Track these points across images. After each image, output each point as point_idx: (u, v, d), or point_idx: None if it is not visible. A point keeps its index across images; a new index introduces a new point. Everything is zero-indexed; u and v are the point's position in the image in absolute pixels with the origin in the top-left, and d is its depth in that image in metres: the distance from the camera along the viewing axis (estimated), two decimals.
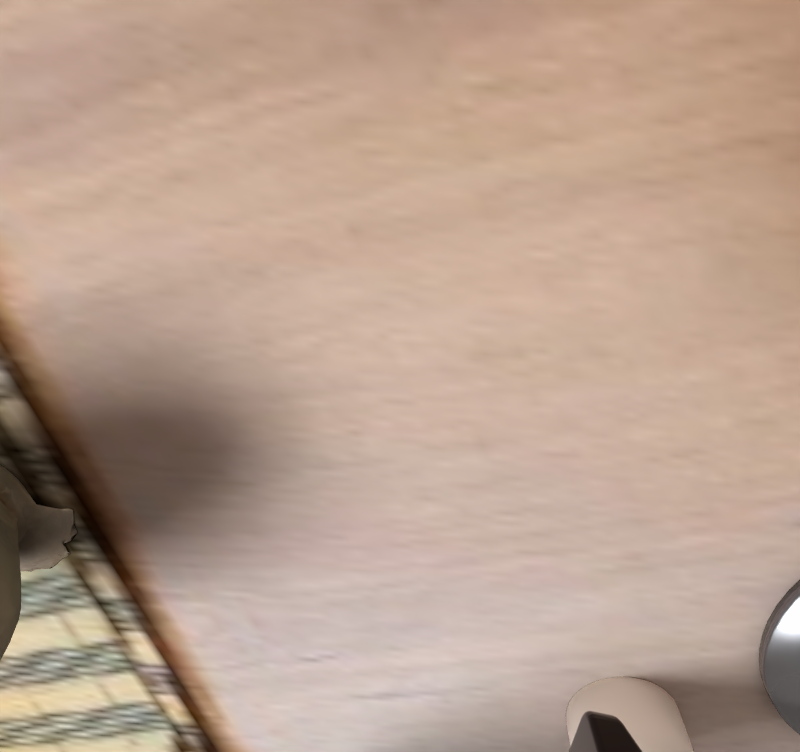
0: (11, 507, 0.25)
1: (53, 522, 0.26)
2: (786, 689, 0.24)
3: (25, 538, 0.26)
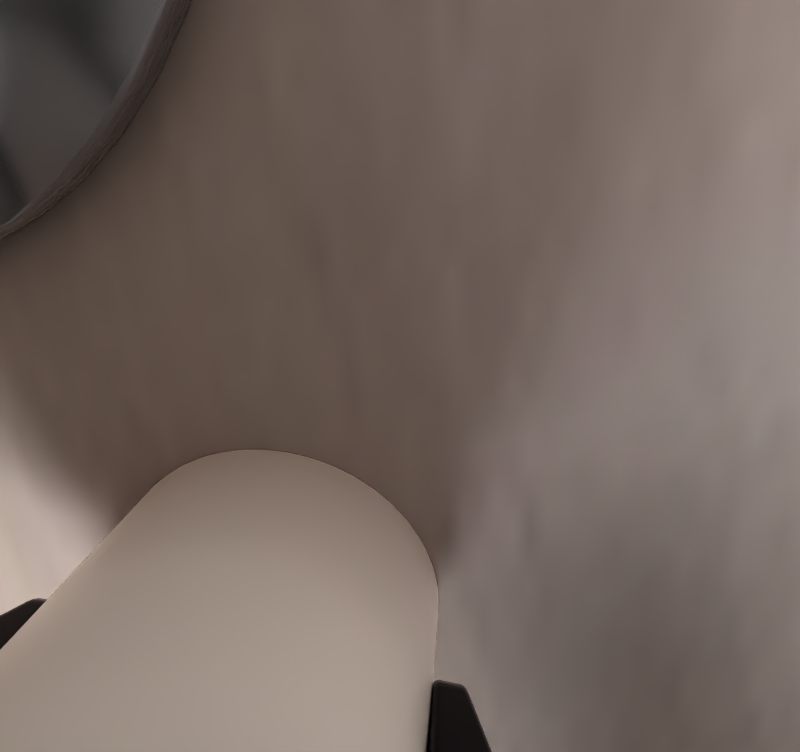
0: None
1: None
2: None
3: None
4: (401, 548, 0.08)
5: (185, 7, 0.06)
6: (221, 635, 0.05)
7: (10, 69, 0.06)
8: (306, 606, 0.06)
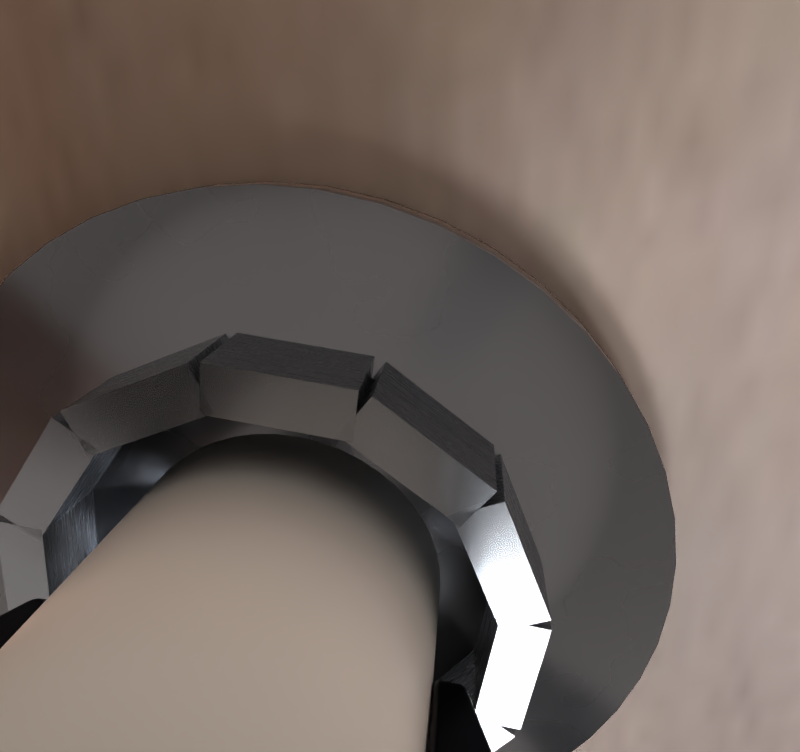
0: None
1: None
2: None
3: None
4: (405, 526, 0.08)
5: None
6: (240, 596, 0.06)
7: None
8: (318, 574, 0.06)
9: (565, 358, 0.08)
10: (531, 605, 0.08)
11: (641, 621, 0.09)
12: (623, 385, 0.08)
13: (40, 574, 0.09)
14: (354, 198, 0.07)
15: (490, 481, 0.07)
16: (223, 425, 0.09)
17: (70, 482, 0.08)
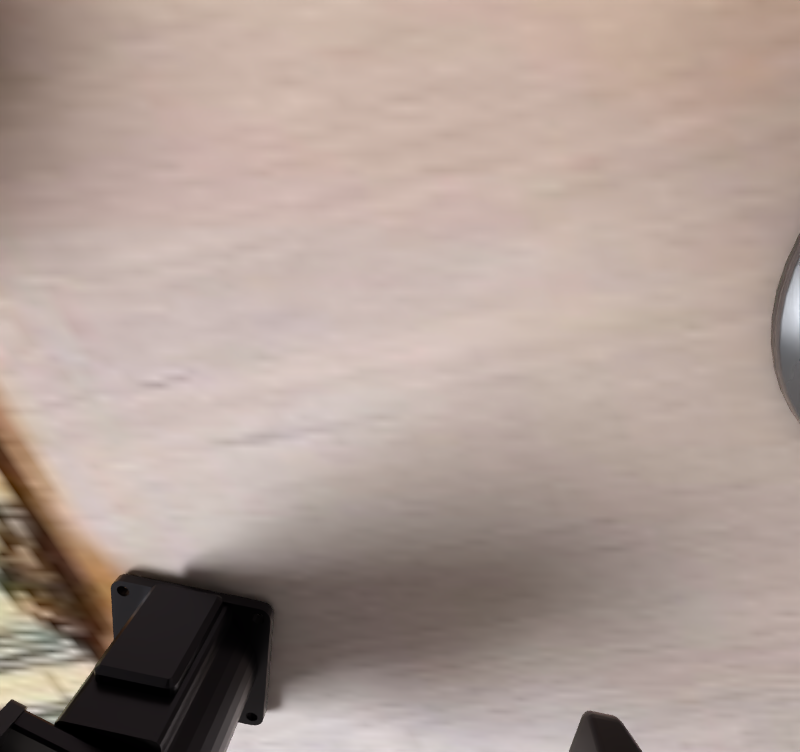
0: None
1: None
2: None
3: None
4: None
5: None
6: None
7: None
8: None
9: None
10: None
11: None
12: None
13: None
14: None
15: None
16: None
17: None
